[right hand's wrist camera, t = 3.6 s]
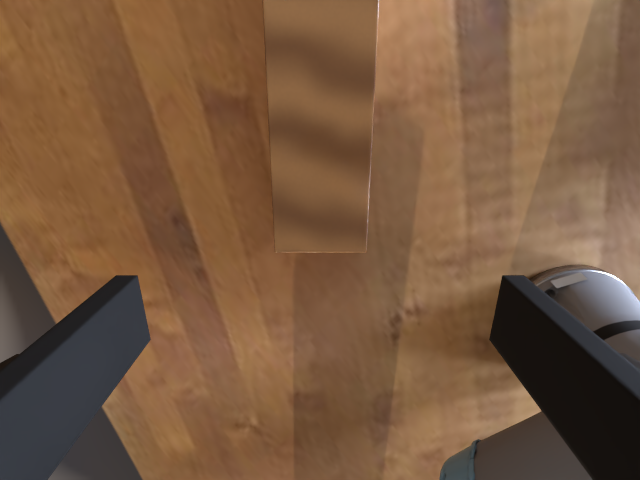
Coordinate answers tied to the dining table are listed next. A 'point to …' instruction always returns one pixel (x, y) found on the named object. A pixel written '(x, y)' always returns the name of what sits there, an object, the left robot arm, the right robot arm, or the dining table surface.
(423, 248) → the dining table surface
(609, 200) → the dining table surface
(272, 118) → the long beam
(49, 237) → the dining table surface
